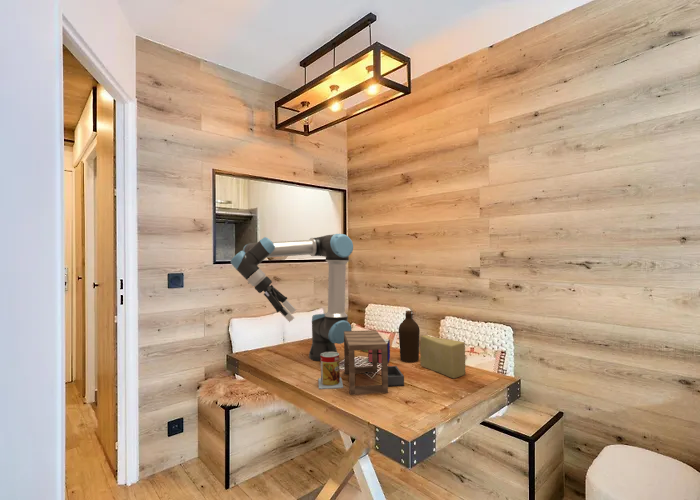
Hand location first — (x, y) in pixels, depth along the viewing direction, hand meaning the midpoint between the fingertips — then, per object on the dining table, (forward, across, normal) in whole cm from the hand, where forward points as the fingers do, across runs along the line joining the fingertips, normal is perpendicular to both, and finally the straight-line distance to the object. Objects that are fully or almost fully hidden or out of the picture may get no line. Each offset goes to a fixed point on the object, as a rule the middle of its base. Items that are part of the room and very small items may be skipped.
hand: (293, 315), depth 167 cm
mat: (+30, +13, -5) cm, 33 cm away
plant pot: (+49, -37, +8) cm, 62 cm away
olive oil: (+60, -16, +24) cm, 66 cm away
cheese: (+65, +3, +32) cm, 72 cm away
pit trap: (+48, +13, +14) cm, 52 cm away
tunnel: (+40, +13, +6) cm, 42 cm away
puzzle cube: (+50, -17, +12) cm, 54 cm away
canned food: (+30, +13, -5) cm, 33 cm away
